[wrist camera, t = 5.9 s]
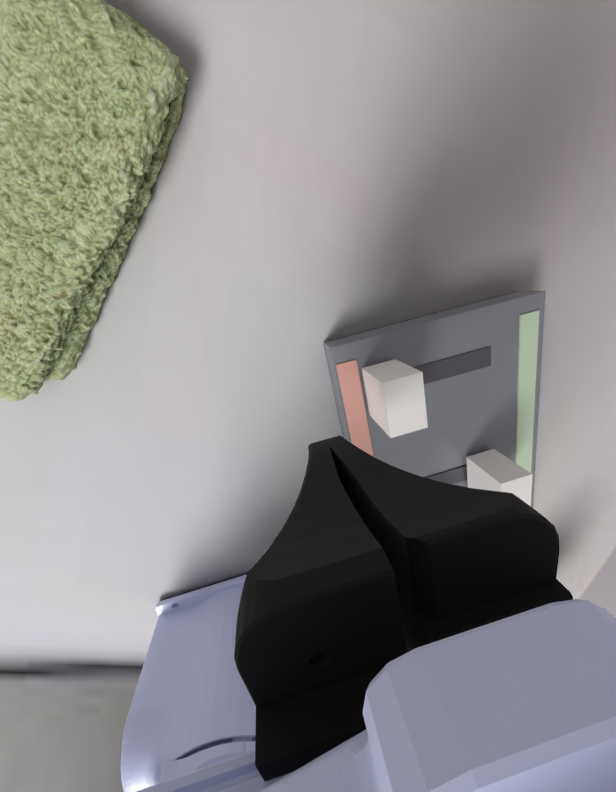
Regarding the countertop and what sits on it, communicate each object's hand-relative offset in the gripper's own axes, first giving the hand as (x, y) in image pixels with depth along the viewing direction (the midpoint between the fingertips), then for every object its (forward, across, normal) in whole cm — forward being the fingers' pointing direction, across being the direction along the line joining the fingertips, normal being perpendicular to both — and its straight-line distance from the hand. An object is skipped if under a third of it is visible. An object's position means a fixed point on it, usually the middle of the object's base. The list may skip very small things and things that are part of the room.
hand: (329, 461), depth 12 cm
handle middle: (+5, -11, +8) cm, 14 cm away
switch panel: (+8, -9, +8) cm, 14 cm away
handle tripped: (+5, -4, 0) cm, 7 cm away
